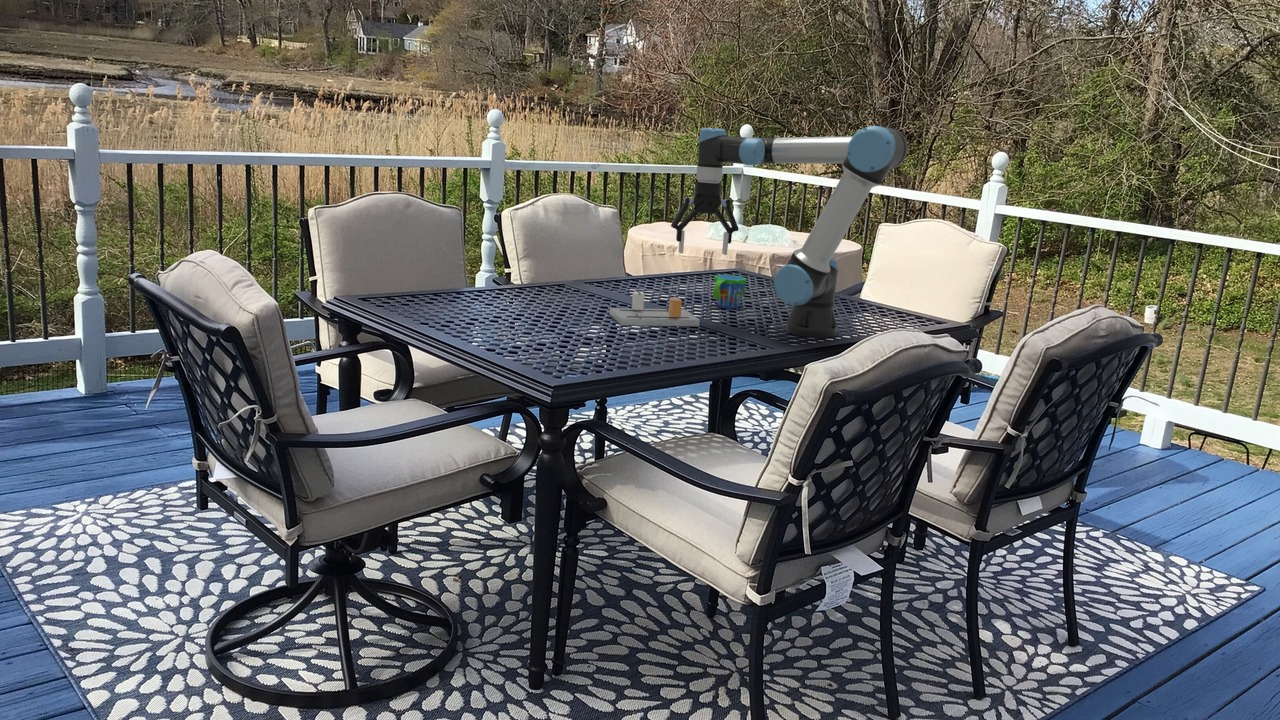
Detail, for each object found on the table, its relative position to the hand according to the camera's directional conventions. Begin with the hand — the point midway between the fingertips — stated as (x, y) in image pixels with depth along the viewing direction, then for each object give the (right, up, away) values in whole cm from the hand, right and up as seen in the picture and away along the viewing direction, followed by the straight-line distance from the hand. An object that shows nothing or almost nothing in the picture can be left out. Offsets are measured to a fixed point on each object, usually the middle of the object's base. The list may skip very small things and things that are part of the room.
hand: (702, 253), depth 294 cm
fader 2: (-8, -19, 0) cm, 20 cm away
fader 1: (-19, -16, +7) cm, 26 cm away
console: (-15, -20, +4) cm, 25 cm away
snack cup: (+11, -14, +34) cm, 38 cm away
